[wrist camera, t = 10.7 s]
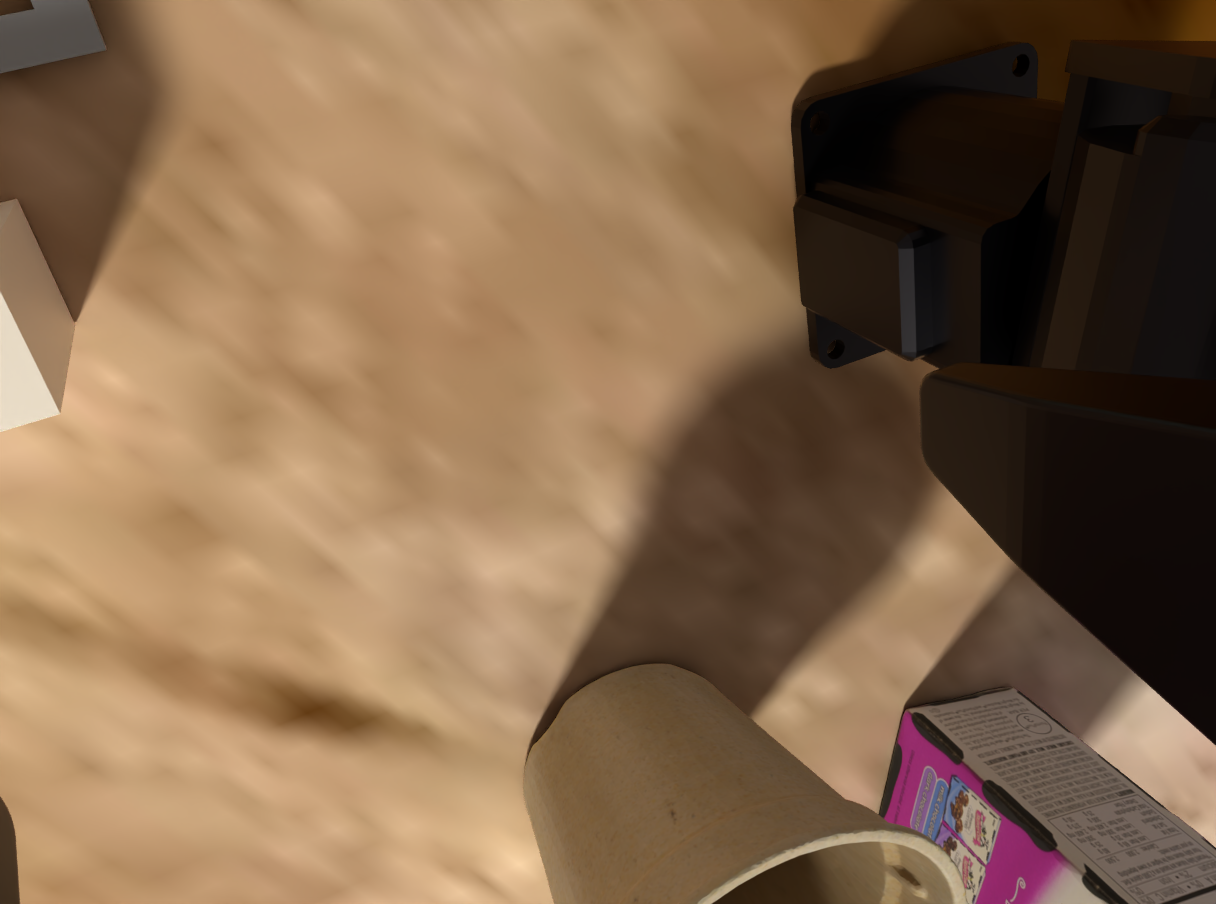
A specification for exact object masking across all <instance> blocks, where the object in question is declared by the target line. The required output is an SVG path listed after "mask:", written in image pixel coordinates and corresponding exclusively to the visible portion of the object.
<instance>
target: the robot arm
mask: <svg viewBox="0 0 1216 904" xmlns="http://www.w3.org/2000/svg"><path fill="white" fill-rule="evenodd" d="M1016 57H1017V61H1018V62H1017V67H1016V69H1015V70H1014V72H1013V71H1012V65H1013V62H1014V60H1015V58H1016ZM1065 72H1068V73H1071V74H1070V79H1069V84H1068V89H1067V94H1066V99H1065V103H1064V102H1058V101H1051V100H1044V99H1038V98H1037V73H1038V58H1037V52H1036V50H1035V48H1034V47H1033V46H1032V45H1030V44H1029V43H1022V42H1008V43H1004V44H1000V45H997V46H993V47H990V48H986V49H983V50H979V51H975V52H972V53H968V54H965V55H961V56H957V57H954V58H950V59H947V60H943V61H939V62H936V63H932V64H929V65H925V66H922V67H918V68H914V69H911V70H907V71H904V72H900V73H896V74H893V75H889V76H886V77H882V78H879V79H875V80H871V81H868V82H864V83H861V84H857V85H853V86H850V87H846V88H843V89H839V90H835V91H832V92H828V93H825V94H821V95H818V96H814V97H810V98H808V99H806V100H804V101H802V102H801V103H800V104H799V105H798V106H797V107H796V108H795V111H794V113H793V115H792V119H791V133H792V145H793V157H794V169H795V181H796V193H797V200H796V202H795V205H794V207H793V212H794V224H795V236H796V247H797V259H798V270H799V282H800V293H801V302H802V305H803V306H805V307H806V311H807V323H808V335H809V347H810V353H811V356H812V358H813V359H814V360H815V361H816V362H818V363H819V364H821V365H823V366H825V367H827V368H830V369H831V368H838V367H840V366H843V365H846V364H849V363H851V362H854V361H857V360H860V359H863V358H865V357H868V356H871V355H874V354H876V353H879V352H882V351H885V350H888V351H890V352H892V353H894V354H896V355H897V356H899V357H901V358H903V359H905V360H907V361H914V360H917V359H921V360H923V361H925V362H927V363H929V364H931V365H933V366H935V367H937V368H939V369H938V370H936V371H933V372H931V373H929V374H927V375H926V376H925V377H924V378H923V380H922V382H921V385H920V392H919V395H920V437H921V450H922V454H923V457H924V460H925V462H926V464H927V466H928V467H929V469H930V470H931V472H932V473H933V474H934V475H935V476H936V477H937V478H938V479H939V481H940V482H941V483H942V484H943V485H944V486H945V487H946V488H947V489H948V490H949V492H950V493H951V494H952V495H953V496H954V497H955V498H956V499H957V500H958V502H959V503H960V504H961V505H962V506H963V507H964V508H965V509H966V510H967V512H968V513H969V514H970V515H971V516H972V517H973V518H974V519H975V520H976V521H977V523H978V524H979V525H980V526H981V527H982V528H983V529H984V530H985V531H986V533H987V534H988V535H989V536H990V537H991V538H992V539H993V540H994V541H995V543H996V544H997V545H998V546H999V547H1000V548H1001V549H1002V550H1003V551H1004V552H1005V554H1006V555H1007V556H1008V557H1009V558H1010V559H1011V560H1012V561H1013V562H1014V563H1015V564H1016V565H1017V566H1018V567H1019V568H1020V569H1021V570H1022V571H1023V572H1024V573H1025V574H1026V575H1027V576H1028V577H1029V578H1030V579H1031V580H1032V581H1033V582H1034V583H1035V584H1037V585H1038V586H1039V587H1040V588H1041V589H1042V590H1043V591H1044V592H1045V593H1046V594H1048V595H1049V596H1050V597H1051V598H1052V599H1053V600H1054V601H1055V602H1056V603H1058V604H1059V605H1060V606H1061V607H1062V608H1063V609H1064V610H1065V611H1066V612H1068V613H1069V614H1070V615H1071V616H1072V617H1073V618H1074V619H1075V620H1077V621H1078V622H1079V623H1080V624H1081V625H1082V626H1083V627H1084V628H1085V629H1087V630H1088V631H1089V632H1090V633H1091V634H1092V635H1093V636H1094V637H1095V638H1097V639H1098V640H1099V641H1100V642H1101V643H1102V644H1103V645H1104V646H1105V647H1107V648H1108V649H1109V650H1110V651H1111V652H1112V653H1113V654H1114V655H1115V656H1117V657H1118V658H1119V659H1120V660H1121V661H1122V662H1123V663H1124V664H1125V665H1127V666H1128V667H1129V668H1130V669H1131V670H1132V671H1133V672H1134V673H1136V674H1137V675H1138V676H1139V677H1140V678H1141V679H1142V680H1143V681H1144V682H1146V683H1147V684H1148V685H1149V686H1150V687H1151V688H1152V689H1153V690H1154V691H1156V692H1157V693H1158V694H1159V695H1160V696H1161V697H1162V698H1163V699H1164V700H1166V701H1167V702H1168V703H1169V704H1170V705H1171V706H1172V707H1173V708H1174V709H1176V710H1177V711H1178V712H1179V713H1180V714H1181V715H1182V716H1183V717H1184V718H1186V719H1187V720H1188V721H1189V722H1190V723H1191V724H1192V725H1193V726H1194V727H1196V728H1197V729H1198V730H1199V731H1200V732H1201V733H1202V734H1203V735H1205V736H1206V737H1207V738H1208V739H1209V740H1210V741H1211V742H1212V743H1213V744H1215V745H1216V41H1130V40H1071V44H1070V49H1069V54H1068V59H1067V64H1066V68H1065ZM817 112H818V113H819V116H820V123H819V126H818V127H817V129H816V130H815V131H813V132H812V131H811V128H810V123H811V119H812V117H813V116H814V114H816V113H817ZM834 340H836V343H835V347H834V349H833V350H832V351H831V352H830V353H828V354H827V350H828V346H829V345H830V343H831V342H833V341H834ZM0 904H20V895H19V880H18V865H17V850H16V836H15V829H14V825H13V821H12V818H11V815H10V813H9V811H8V808H7V806H6V805H5V803H4V801H3V800H2V798H1V797H0Z"/></svg>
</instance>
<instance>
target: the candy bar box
mask: <svg viewBox="0 0 1216 904" xmlns="http://www.w3.org/2000/svg"><path fill="white" fill-rule="evenodd" d="M880 816H881V817H882V818H883V819H885V820H886V821H887V822H888V823H893V824H898V825H902V826H905V827H909V828H912V829H914V830H916V831H918V832H921V833H922V834H924V835H926V836H927V837H929V838H930V839H932V840H933V841H934V842H935V843H937V844H938V845H939V846H940V847H941V848H942V849H943V850H944V851H945V852H946V853H947V854H948V855H949V856H950V857H951V859H952V860H953V861H954V862H955V864H956V866H957V867H958V869H959V871H960V873H961V875H962V879H963V882H964V886H965V890H966V898H967V901H968V904H1216V848H1215V847H1214V846H1213V845H1212V844H1211V843H1209V842H1208V841H1207V840H1206V839H1205V838H1204V837H1203V836H1201V835H1200V834H1199V833H1198V832H1197V831H1195V830H1194V829H1193V828H1191V827H1190V826H1189V825H1187V824H1186V823H1185V822H1184V821H1183V820H1181V819H1180V818H1179V817H1177V816H1176V815H1174V814H1172V813H1171V812H1170V811H1168V810H1167V809H1166V808H1165V807H1164V806H1163V805H1161V804H1160V803H1159V802H1158V801H1156V800H1155V799H1154V798H1153V797H1151V796H1150V795H1149V794H1148V793H1146V792H1145V791H1144V790H1143V789H1141V788H1140V787H1139V786H1138V785H1136V784H1135V783H1134V782H1133V781H1131V780H1130V779H1129V778H1128V777H1127V776H1125V775H1124V774H1123V773H1121V772H1120V771H1119V770H1118V769H1117V768H1115V767H1114V766H1113V765H1111V764H1110V763H1109V762H1108V761H1106V760H1105V759H1104V758H1103V757H1101V756H1100V755H1099V754H1098V753H1097V752H1095V751H1094V750H1093V749H1092V748H1090V747H1089V746H1088V745H1087V744H1085V743H1084V742H1083V741H1082V740H1080V739H1079V738H1078V737H1076V736H1075V735H1074V734H1073V733H1071V732H1070V731H1069V730H1067V729H1066V728H1065V727H1064V726H1062V725H1061V724H1060V723H1059V722H1058V721H1056V720H1055V719H1054V718H1052V717H1051V716H1050V715H1049V714H1047V713H1046V712H1045V711H1044V710H1043V709H1041V708H1040V707H1039V706H1037V705H1036V704H1035V703H1034V702H1032V701H1031V700H1030V699H1029V698H1027V697H1026V696H1025V695H1023V694H1022V693H1021V692H1020V691H1018V690H1017V689H1015V688H1013V687H1009V688H999V689H994V690H987V691H982V692H979V693H976V694H973V695H969V696H965V697H961V698H957V699H953V700H947V701H941V702H936V703H930V704H926V705H922V706H918V707H913V708H909V709H906V711H905V713H904V715H903V716H902V720H901V724H900V728H899V733H898V737H897V741H896V745H895V749H894V754H893V758H892V762H891V766H890V771H889V775H888V780H887V784H886V789H885V793H884V797H883V801H882V806H881V810H880Z"/></svg>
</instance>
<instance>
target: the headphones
mask: <svg viewBox="0 0 1216 904" xmlns="http://www.w3.org/2000/svg"><path fill="white" fill-rule="evenodd" d="M31 2H32V5H33V7H34V9H30V10H25V11H20V12H16V13H11V14H6V15H1V16H0V73H4V72H9V71H13V70H18V69H23V68H27V67H32V66H36V65H41V64H45V63H50V62H54V61H59V60H64V59H68V58H73V57H77V56H82V55H86V54H91V53H95V52H100V51H105V50H107V47H106V44H105V42H104V39H103V36H102V34H101V31H100V29H99V26H98V24H97V21H96V18H95V16H94V13H93V11H92V8H91V6H90V3H89V0H31ZM74 330H75V323H74V321H73V319H72V317H71V315H70V312H69V310H68V308H67V306H66V304H65V302H64V299H63V297H62V295H61V293H60V291H59V289H58V286H57V284H56V282H55V280H54V278H53V275H52V273H51V271H50V269H49V267H48V265H47V262H46V260H45V258H44V256H43V254H42V252H41V249H40V247H39V245H38V243H37V241H36V239H35V236H34V234H33V232H32V230H31V228H30V226H29V223H28V221H27V219H26V217H25V215H24V212H23V210H22V208H21V206H20V204H19V202H18V199H13V200H9V201H5V202H1V203H0V432H2V431H5V430H9V429H12V428H15V427H19V426H22V425H25V424H28V423H32V422H35V421H38V420H42V419H45V418H48V417H51V416H55V415H58V414H60V413H61V407H62V401H63V395H64V389H65V383H66V377H67V371H68V365H69V359H70V354H71V348H72V342H73V336H74Z"/></svg>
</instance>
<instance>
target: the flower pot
mask: <svg viewBox="0 0 1216 904" xmlns="http://www.w3.org/2000/svg"><path fill="white" fill-rule="evenodd" d="M523 794H524V801H525V806H526V809H527V812H528V815H529V817H530V821H531V824H532V828H533V831H534V835H535V838H536V841H537V844H538V848H539V851H540V855H541V858H542V862H543V865H544V869H545V872H546V876H547V880H548V883H549V887H550V891H551V894H552V898H553V902H554V904H968V901H967V898H966V890H965V886H964V882H963V879H962V875H961V873H960V871H959V869H958V867H957V866H956V864H955V862H954V861H953V860H952V859H951V857H950V856H949V855H948V854H947V853H946V852H945V851H944V850H943V849H942V848H941V847H940V846H939V845H938V844H937V843H935V842H934V841H933V840H932V839H930V838H929V837H927V836H926V835H924V834H922V833H921V832H918V831H916V830H914V829H912V828H909V827H905V826H902V825H898V824H893V823H888V822H887V821H886V820H885V819H883V818H882V817H881V816H880V815H878V814H877V813H875V812H874V811H872V810H870V809H869V808H867V807H865V806H863V805H861V804H858V803H856V802H853V801H849V800H845V799H844V798H843V797H842V796H841V795H839V794H838V793H837V792H836V791H835V790H834V789H832V788H831V787H830V786H829V785H828V784H827V783H825V782H824V781H823V780H822V779H821V778H820V777H818V776H817V775H816V774H815V773H814V772H812V771H811V770H810V769H809V768H808V767H807V766H805V765H804V764H803V763H802V762H801V761H800V760H798V759H797V758H796V757H795V756H794V755H793V754H791V753H790V752H789V751H788V750H787V749H785V748H784V747H783V746H782V745H781V744H780V743H778V742H777V741H776V740H775V739H774V738H773V737H771V736H770V735H769V734H768V733H767V732H766V731H764V730H763V729H762V728H761V727H760V726H759V725H757V724H756V723H755V722H754V721H753V720H752V719H750V718H749V717H748V716H747V715H746V714H745V713H744V712H742V711H741V710H740V709H739V708H738V707H737V706H735V705H734V704H733V703H732V702H731V701H730V700H728V699H727V698H726V697H725V696H724V695H723V694H722V693H721V692H720V691H719V690H718V689H717V688H716V687H715V686H714V685H713V684H712V683H711V682H709V681H708V680H706V679H705V678H703V677H701V676H699V675H697V674H695V673H692V672H690V671H688V670H685V669H682V668H679V667H677V666H674V665H672V664H659V663H656V664H645V665H637V666H632V667H628V668H625V669H621V670H618V671H616V672H613V673H610V674H608V675H606V676H603V677H602V678H600V679H598V680H596V681H594V682H592V683H590V684H588V685H587V686H585V687H584V688H582V689H581V690H579V691H578V692H576V693H575V694H574V695H572V696H571V697H570V698H569V699H568V700H566V702H565V703H564V705H563V706H562V708H561V710H560V711H559V713H558V715H557V717H556V718H555V720H554V722H553V723H552V724H551V726H550V727H549V729H548V730H547V731H546V732H545V733H544V735H543V736H542V737H541V738H540V739H539V740H538V741H537V742H536V743H535V744H534V745H533V746H532V748H531V750H530V753H529V755H528V758H527V762H526V765H525V771H524V779H523Z"/></svg>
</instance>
